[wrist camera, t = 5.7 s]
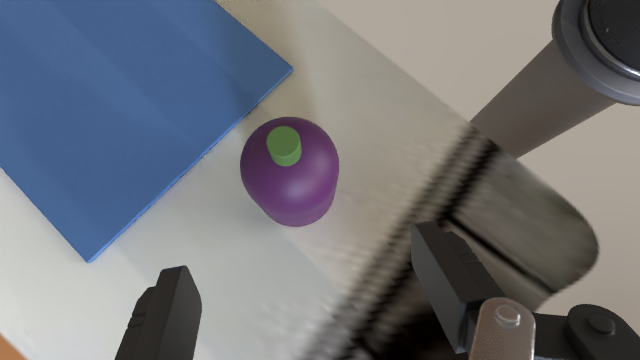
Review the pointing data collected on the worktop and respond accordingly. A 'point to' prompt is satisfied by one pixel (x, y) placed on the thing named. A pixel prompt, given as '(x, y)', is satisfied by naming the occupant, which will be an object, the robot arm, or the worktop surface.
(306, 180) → the eggplant
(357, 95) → the worktop surface
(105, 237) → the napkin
